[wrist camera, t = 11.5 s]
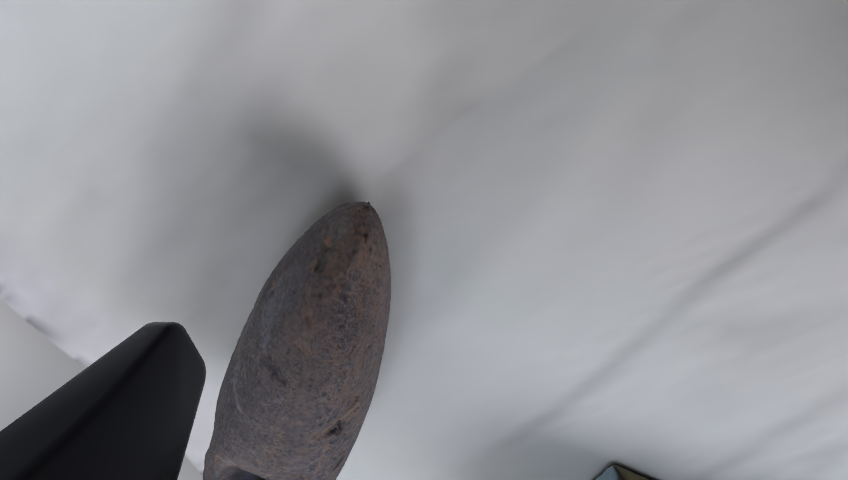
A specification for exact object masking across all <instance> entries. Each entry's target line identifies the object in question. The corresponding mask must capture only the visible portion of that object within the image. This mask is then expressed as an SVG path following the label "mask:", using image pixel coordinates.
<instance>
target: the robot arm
mask: <svg viewBox="0 0 848 480" xmlns="http://www.w3.org/2000/svg"><path fill="white" fill-rule="evenodd" d="M205 378H206V367H205V363H204V361H203V359H202V357H201V355H200V354H199V352H198V350H197V349H196V347H195V345H194V343H193V342H192V340H191V338H190V337H189V335H188V333H187V331H186V330H185V328H184V327H183V326H182V325H180V324H179V323H176V322H152V323H149V324H146V325H145V326H143V327H142V328H140V329H139V330H138V331H136V332H135V333H134V334H132V335H131V336H130V337H128V338H127V339H126V340H124V341H123V342H121V343H120V344H119V345H117V346H116V347H115V348H113V349H112V350H111V351H109V352H108V353H106V354H105V355H104V356H102V357H101V358H100V359H98V360H97V361H96V362H94V363H93V364H92V365H90V366H89V367H87V368H86V369H85V370H84V371H82V372H81V373H79V374H78V375H77V376H75V377H74V378H72V379H71V380H70V381H68V382H67V383H66V384H64V385H63V386H62V387H60V388H59V389H57V390H56V391H55V392H53V393H52V394H51V395H50V396H48V397H47V398H45V399H44V400H43V401H41V402H40V403H39V404H37V405H36V406H34V407H33V408H32V409H31V410H29V411H28V412H26V413H25V414H23V415H22V416H21V417H19V418H18V419H17V420H15V421H14V422H13V423H11V424H10V425H8V426H7V427H6V428H4V429H3V430H2V431H0V480H177V479H178V475H179V472H180V469H181V466H182V462H183V458H184V455H185V451H186V448H187V444H188V440H189V437H190V433H191V430H192V426H193V422H194V419H195V415H196V412H197V408H198V404H199V401H200V397H201V394H202V390H203V386H204V383H205Z"/></svg>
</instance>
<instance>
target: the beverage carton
mask: <svg viewBox="0 0 848 480" xmlns="http://www.w3.org/2000/svg"><path fill="white" fill-rule="evenodd" d="M595 480H650V479H647V478H645V477H642V476H639V475H637V474H635V473H633V472H631V471H629V470H627V469H624V468H622V467H620V466H618V465H612V466H610V467H609V468H607V469H606V470H605V471H604V472H603V473H602V475H601V476H599V477H598V478H597V479H595Z"/></svg>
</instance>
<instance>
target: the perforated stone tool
mask: <svg viewBox="0 0 848 480" xmlns="http://www.w3.org/2000/svg"><path fill="white" fill-rule="evenodd" d="M390 299H391V275H390V263H389V255H388V247H387V242H386V238H385V234H384V230H383V226H382V223H381V220H380V218H379V216H378V214H377V213H376V211H375V209H374V208H373V207H372V206H371V205H370V203H369V202H368V203H365V202H354V203H350V204H345V205H342V206H340V207H338V208H336V209H334V210H333V211H331V212H330V213H328V214H327V215H325V216H324V217H322V218H321V219H320V220H319V221H317V222H316V223H315V224H314V225H313V226H312V227H311V228H310V229H309V230H308V231H307V232H306V233H305V234H304V235H303V236H302V237H301V238H300V239H298V240H297V242H296V243H295V244H294V245H293V246H292V247H291V249H290V250H289V251H288V252H287V253H286V254H285V256H284V257H283V258H282V259H281V261H280V262H279V264H278V265H277V266H276V268H275V269H274V270H273V272H272V273H271V275H270V277H269V278H268V279H267V281H266V283H265V285H264V286H263V288H262V290H261V292H260V294H259V296H258V298H257V300H256V302H255V305H254V308H253V310H252V311H251V313H250V315H249V317H248V320H247V322H246V324H245V326H244V328H243V330H242V333H241V336H240V338H239V340H238V343H237V345H236V347H235V350H234V352H233V354H232V357H231V360H230V363H229V365H228V368H227V371H226V374H225V377H224V380H223V382H222V386H221V389H220V392H219V396H218V400H217V405H216V413H215V422H214V430H213V435H212V439H211V443H210V447H209V448H208V450H207V453H206V455H205V463H204V464H205V466H204V472H203V480H336V478H337V476H338V475H339V473H340V471H341V470H342V468H343V466H344V464H345V462H346V460H347V458H348V456H349V454H350V452H351V449H352V447H353V445H354V443H355V441H356V439H357V437H358V434H359V432H360V429H361V427H362V424H363V422H364V419H365V417H366V414H367V412H368V409H369V406H370V403H371V400H372V397H373V394H374V390H375V386H376V383H377V378H378V374H379V368H380V364H381V359H382V355H383V350H384V343H385V336H386V330H387V324H388V317H389V310H390Z"/></svg>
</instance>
